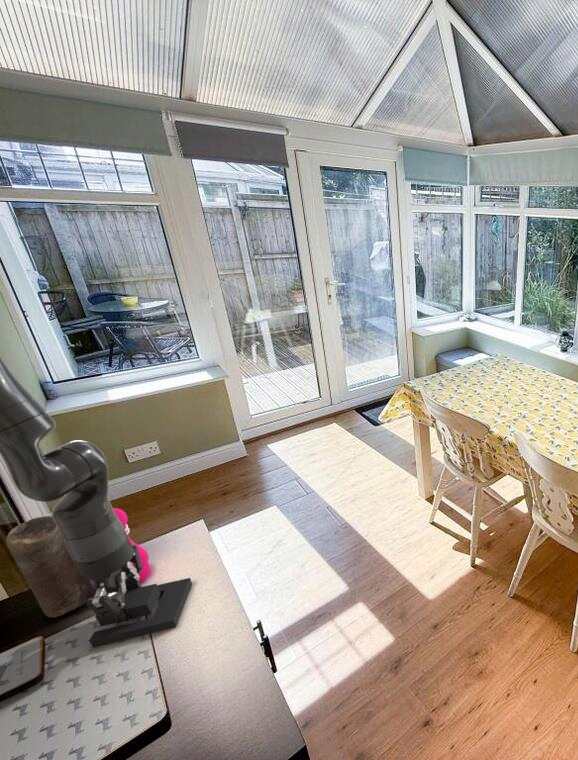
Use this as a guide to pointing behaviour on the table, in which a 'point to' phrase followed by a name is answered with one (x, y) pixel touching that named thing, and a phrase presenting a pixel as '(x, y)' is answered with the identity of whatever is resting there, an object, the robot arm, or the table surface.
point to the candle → (48, 566)
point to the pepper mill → (142, 552)
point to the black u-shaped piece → (162, 619)
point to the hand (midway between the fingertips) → (130, 607)
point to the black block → (136, 603)
